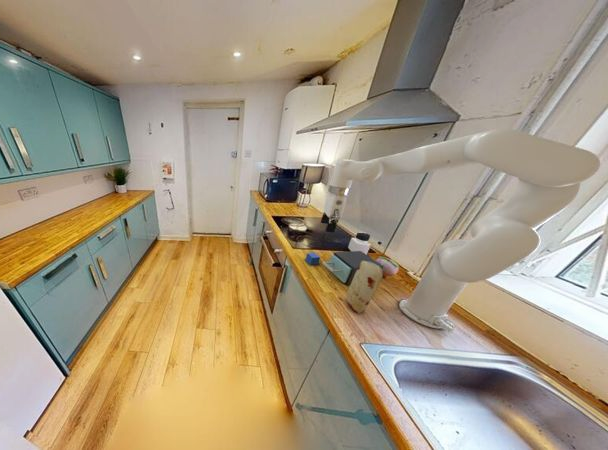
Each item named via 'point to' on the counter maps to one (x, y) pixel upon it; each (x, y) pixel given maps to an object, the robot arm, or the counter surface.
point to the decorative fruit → (388, 266)
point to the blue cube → (312, 258)
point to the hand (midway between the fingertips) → (326, 227)
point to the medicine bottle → (360, 243)
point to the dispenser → (354, 261)
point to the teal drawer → (338, 268)
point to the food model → (363, 285)
